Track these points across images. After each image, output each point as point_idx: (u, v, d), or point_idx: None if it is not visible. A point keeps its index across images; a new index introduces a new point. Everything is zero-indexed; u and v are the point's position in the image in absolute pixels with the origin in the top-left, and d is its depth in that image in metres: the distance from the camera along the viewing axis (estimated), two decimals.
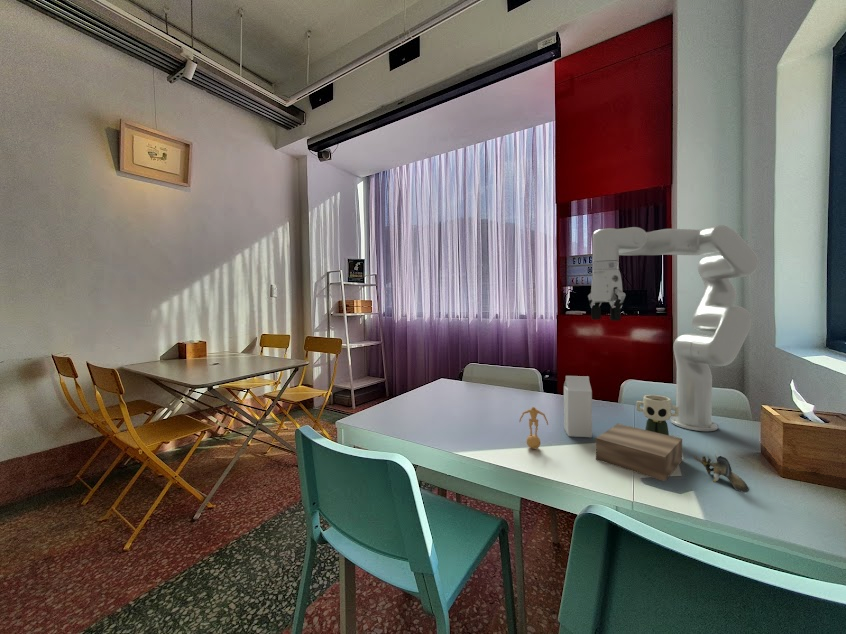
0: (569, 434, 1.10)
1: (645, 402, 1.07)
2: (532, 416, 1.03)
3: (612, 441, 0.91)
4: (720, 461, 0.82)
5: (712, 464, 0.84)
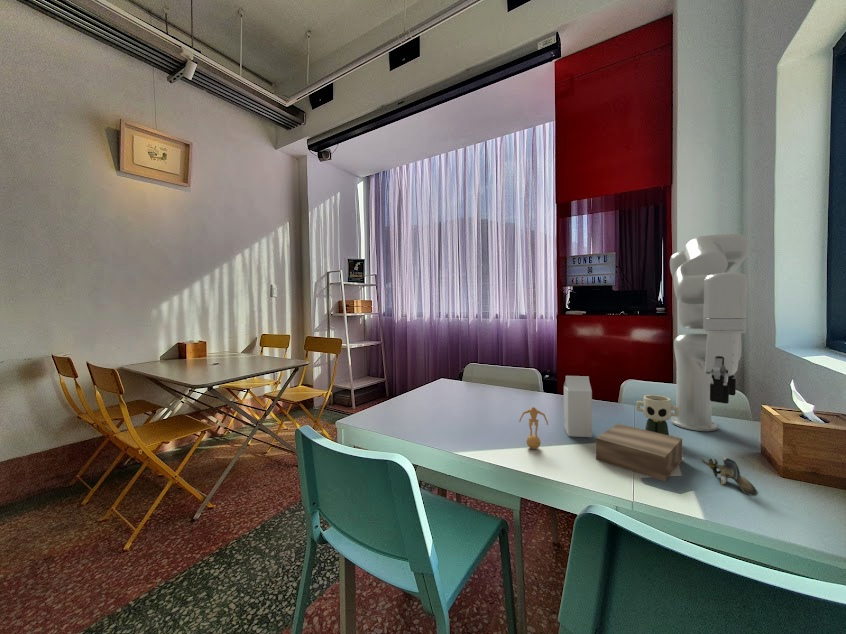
0: (569, 434, 1.10)
1: (645, 402, 1.07)
2: (532, 416, 1.03)
3: (612, 441, 0.91)
4: (727, 464, 0.81)
5: (719, 467, 0.82)
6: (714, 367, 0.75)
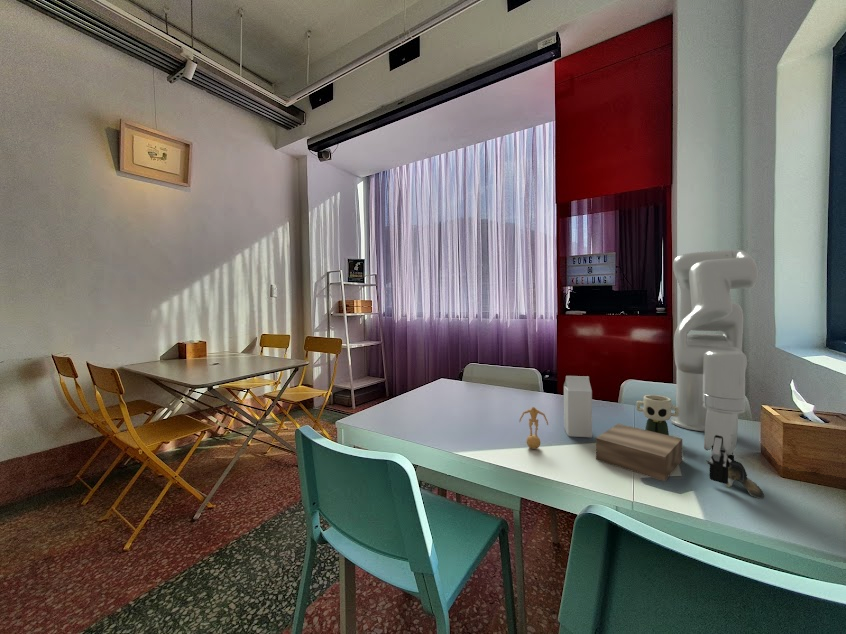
0: (569, 434, 1.10)
1: (645, 402, 1.07)
2: (532, 416, 1.03)
3: (612, 441, 0.91)
4: (733, 465, 0.80)
5: None
6: (713, 451, 0.77)
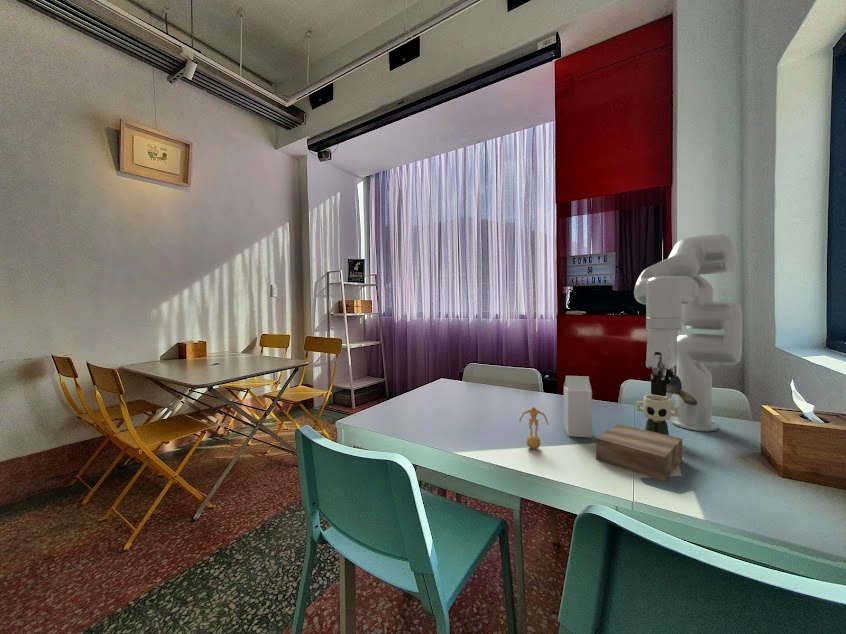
0: (569, 434, 1.10)
1: (645, 402, 1.07)
2: (532, 416, 1.03)
3: (612, 441, 0.91)
4: (672, 381, 0.87)
5: None
6: (652, 365, 0.84)
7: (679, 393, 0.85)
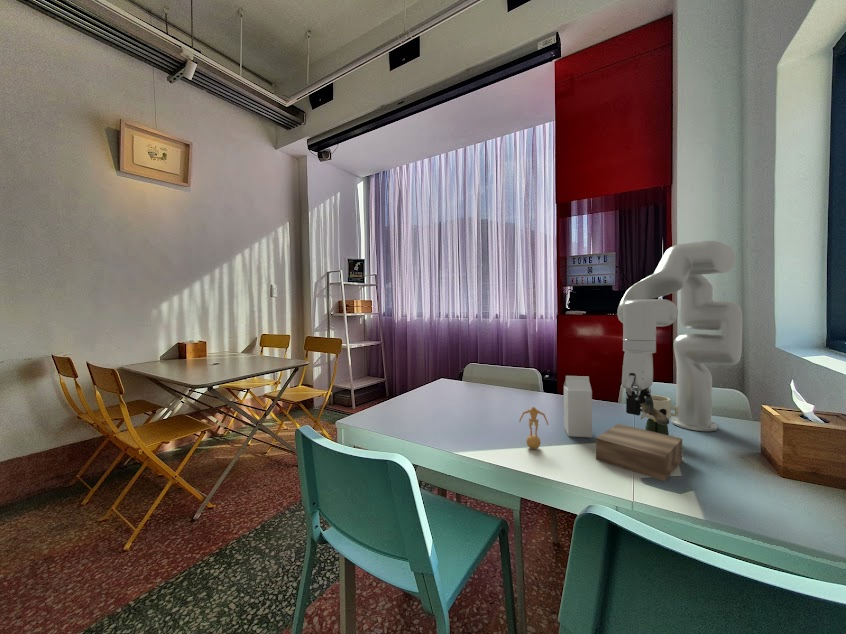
0: (569, 434, 1.10)
1: None
2: (532, 416, 1.03)
3: (612, 441, 0.91)
4: (647, 401, 0.91)
5: (641, 404, 0.92)
6: (626, 385, 0.88)
7: (653, 412, 0.89)
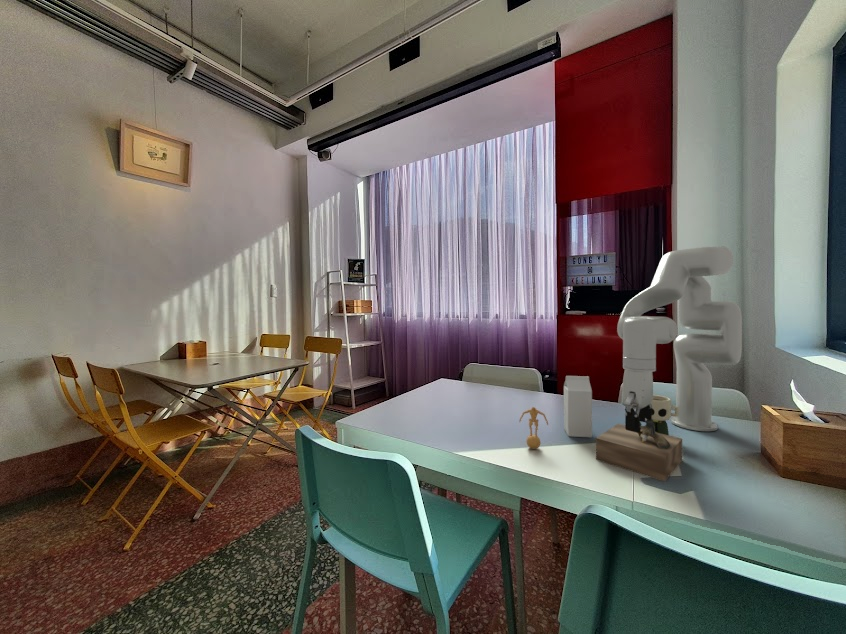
0: (569, 434, 1.10)
1: None
2: (532, 416, 1.03)
3: (612, 441, 0.91)
4: (648, 424, 0.91)
5: (642, 427, 0.93)
6: (626, 402, 0.87)
7: (653, 436, 0.89)
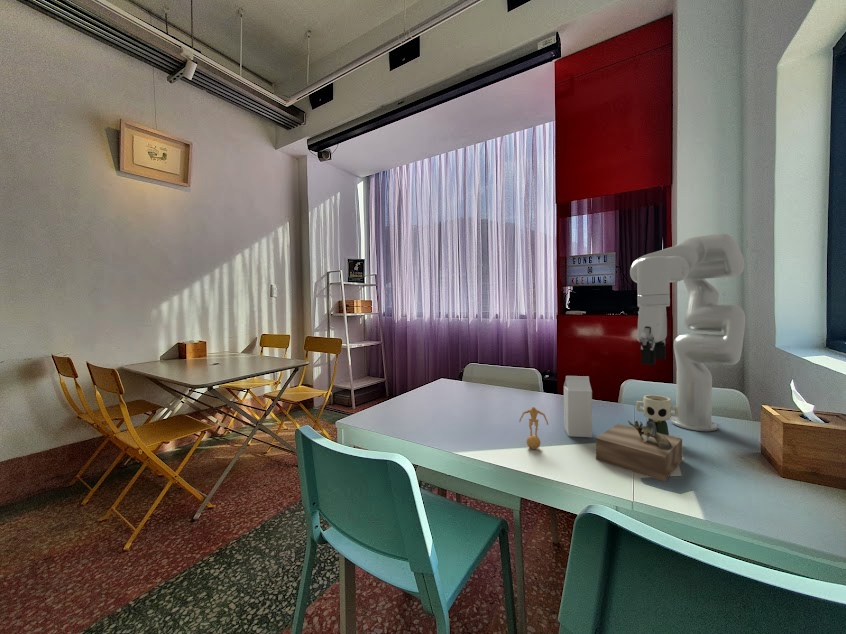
0: (569, 434, 1.10)
1: (645, 402, 1.07)
2: (532, 416, 1.03)
3: (612, 441, 0.91)
4: (649, 424, 0.91)
5: (643, 427, 0.92)
6: (642, 335, 0.91)
7: (655, 436, 0.89)
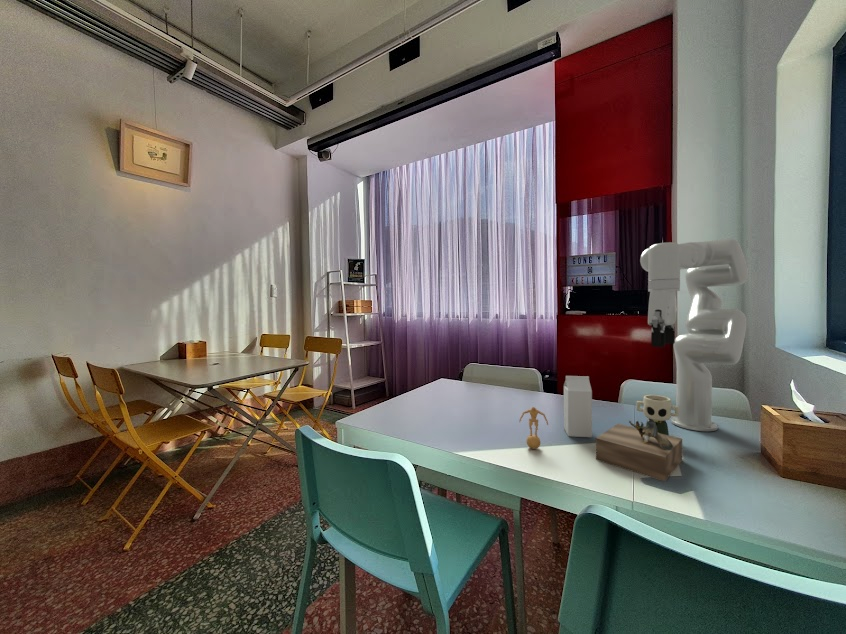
0: (569, 434, 1.10)
1: (645, 402, 1.07)
2: (532, 416, 1.03)
3: (612, 441, 0.91)
4: (650, 424, 0.91)
5: (644, 428, 0.92)
6: (652, 317, 0.94)
7: (656, 436, 0.89)
